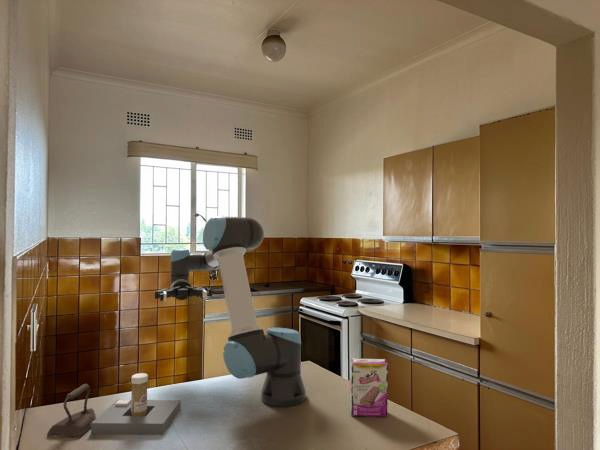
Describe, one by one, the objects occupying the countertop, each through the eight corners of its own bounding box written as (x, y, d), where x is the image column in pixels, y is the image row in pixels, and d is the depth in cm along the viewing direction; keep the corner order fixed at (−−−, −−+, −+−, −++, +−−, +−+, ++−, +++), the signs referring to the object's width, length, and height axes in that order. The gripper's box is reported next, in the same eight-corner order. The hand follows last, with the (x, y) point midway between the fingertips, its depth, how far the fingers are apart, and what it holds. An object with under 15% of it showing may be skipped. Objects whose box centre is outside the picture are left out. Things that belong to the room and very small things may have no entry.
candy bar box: (351, 417, 122) (351, 362, 122) (349, 410, 127) (349, 357, 127) (388, 417, 122) (388, 363, 122) (385, 410, 127) (385, 358, 127)
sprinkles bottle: (140, 425, 116) (140, 378, 117) (127, 423, 117) (127, 376, 118) (150, 418, 120) (151, 373, 121) (137, 416, 122) (138, 371, 122)
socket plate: (180, 409, 127) (180, 397, 127) (163, 434, 111) (163, 420, 111) (117, 409, 127) (117, 397, 127) (90, 434, 111) (91, 420, 111)
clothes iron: (80, 438, 109) (81, 397, 109) (46, 437, 109) (47, 396, 110) (108, 416, 123) (108, 379, 123) (77, 414, 123) (78, 378, 124)
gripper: (213, 297, 163) (222, 305, 144) (147, 300, 155) (147, 309, 135) (213, 278, 164) (222, 284, 144) (147, 281, 155) (147, 287, 135)
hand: (185, 296), depth 139 cm, fingers open, 13 cm apart
